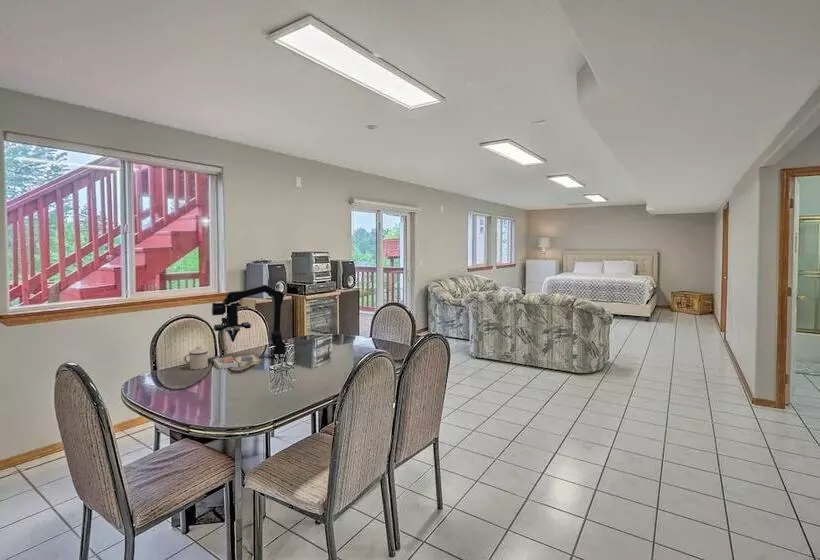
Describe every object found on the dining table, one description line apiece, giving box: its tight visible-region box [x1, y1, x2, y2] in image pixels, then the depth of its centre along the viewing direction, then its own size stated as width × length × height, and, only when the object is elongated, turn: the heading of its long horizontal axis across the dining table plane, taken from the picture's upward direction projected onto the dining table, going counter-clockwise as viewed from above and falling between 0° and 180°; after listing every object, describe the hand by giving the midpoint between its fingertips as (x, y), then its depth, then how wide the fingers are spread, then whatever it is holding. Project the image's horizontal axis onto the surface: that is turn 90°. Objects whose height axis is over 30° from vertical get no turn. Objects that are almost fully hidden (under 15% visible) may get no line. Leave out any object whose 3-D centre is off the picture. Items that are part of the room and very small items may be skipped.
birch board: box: [232, 354, 263, 367], centre depth 246 cm, size 12×16×2 cm
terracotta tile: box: [221, 355, 234, 364], centre depth 243 cm, size 5×5×2 cm
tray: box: [212, 356, 239, 370], centre depth 240 cm, size 10×16×2 cm, turn 34°
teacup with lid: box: [183, 345, 209, 371], centre depth 233 cm, size 12×9×12 cm
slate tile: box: [240, 354, 253, 362], centre depth 242 cm, size 5×5×2 cm
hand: (232, 341), depth 245 cm, fingers closed
